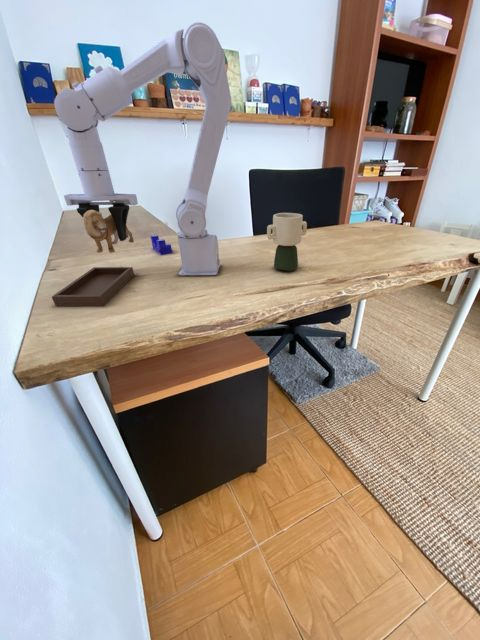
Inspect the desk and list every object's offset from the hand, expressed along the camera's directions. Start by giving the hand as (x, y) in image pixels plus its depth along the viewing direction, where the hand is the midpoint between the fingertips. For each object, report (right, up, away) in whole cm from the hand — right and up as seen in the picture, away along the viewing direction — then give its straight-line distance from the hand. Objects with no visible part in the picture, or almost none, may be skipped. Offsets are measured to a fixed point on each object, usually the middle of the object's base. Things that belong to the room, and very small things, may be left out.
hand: (112, 239), depth 67 cm
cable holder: (+3, +6, +24) cm, 25 cm away
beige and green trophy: (+40, -4, +10) cm, 42 cm away
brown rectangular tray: (-3, -11, -1) cm, 12 cm away
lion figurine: (0, -2, +1) cm, 2 cm away
